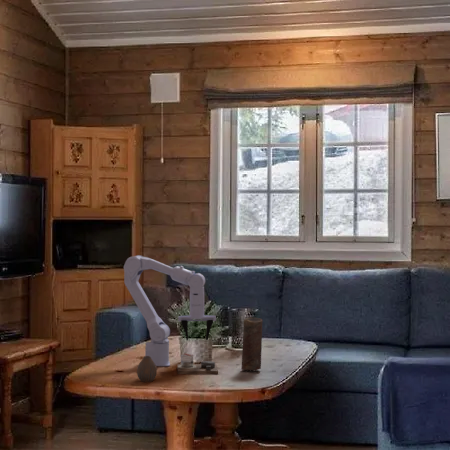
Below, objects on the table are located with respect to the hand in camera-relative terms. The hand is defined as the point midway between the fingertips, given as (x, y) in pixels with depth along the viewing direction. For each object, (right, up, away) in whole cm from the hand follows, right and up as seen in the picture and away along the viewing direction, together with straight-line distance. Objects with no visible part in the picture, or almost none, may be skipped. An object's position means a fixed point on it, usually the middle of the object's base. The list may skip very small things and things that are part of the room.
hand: (197, 339), depth 351 cm
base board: (0, -11, -9) cm, 14 cm away
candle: (+21, -11, -8) cm, 25 cm away
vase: (-17, -11, -31) cm, 37 cm away
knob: (-4, -9, -9) cm, 13 cm away
